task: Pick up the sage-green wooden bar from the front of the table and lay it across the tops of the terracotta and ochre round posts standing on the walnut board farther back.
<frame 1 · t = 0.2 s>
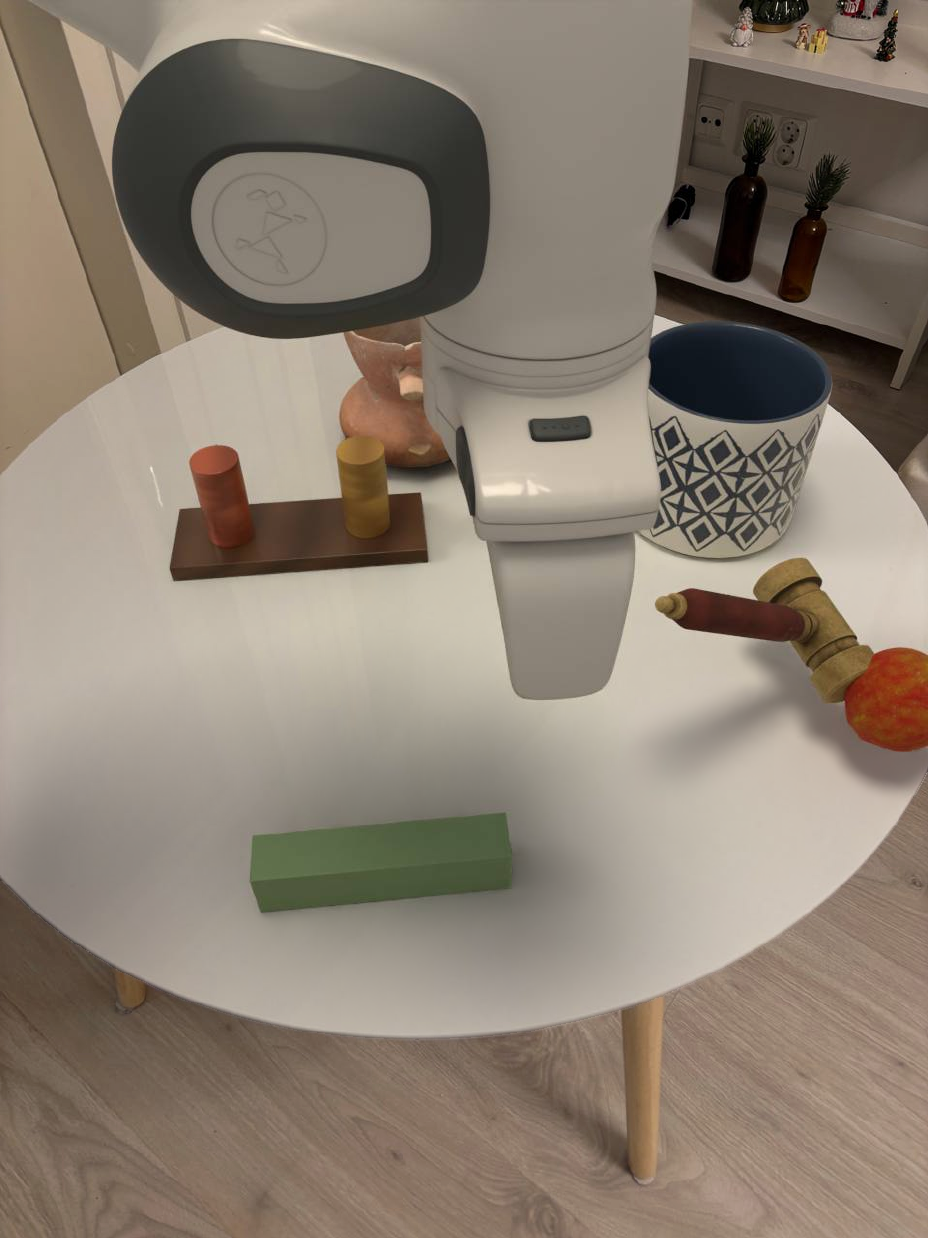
hand: (519, 612, 47), 22 cm above the table, tool pointing down, fingers open, 8 cm apart
rod stand: (302, 541, 84), on the table
gavel: (732, 636, 63), point 9 cm above the table, touching fruit
planter: (701, 506, 87), on the table
ceramic jug: (414, 437, 95), on the table
bar: (385, 877, 61), on the table
fruit: (854, 730, 66), point 3 cm above the table, touching gavel
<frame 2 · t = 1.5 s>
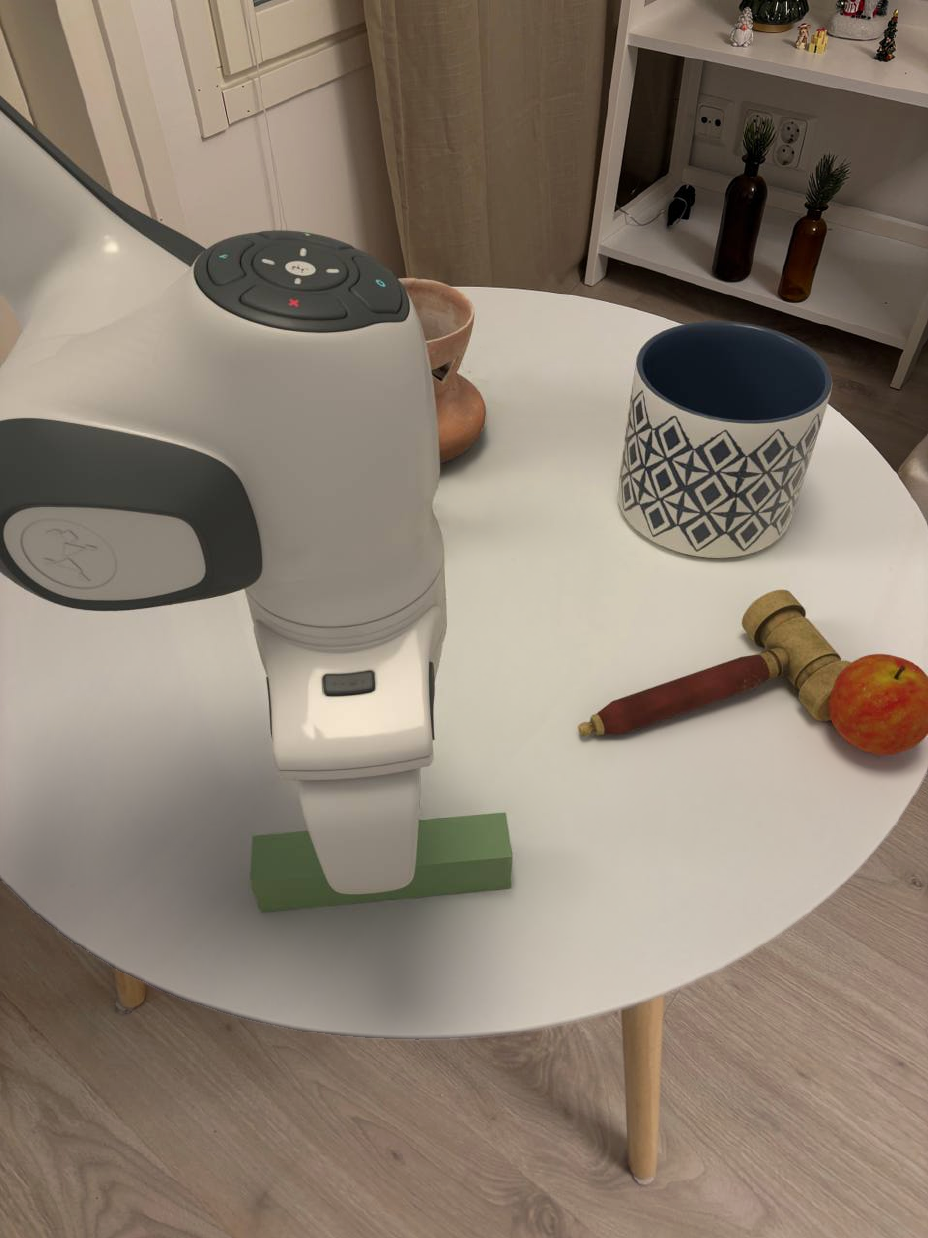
hand: (375, 776, 53), 11 cm above the table, tool pointing down, fingers open, 8 cm apart
gavel: (702, 703, 71), on the table, touching fruit
fruit: (865, 736, 69), on the table, touching gavel
everything else where it was.
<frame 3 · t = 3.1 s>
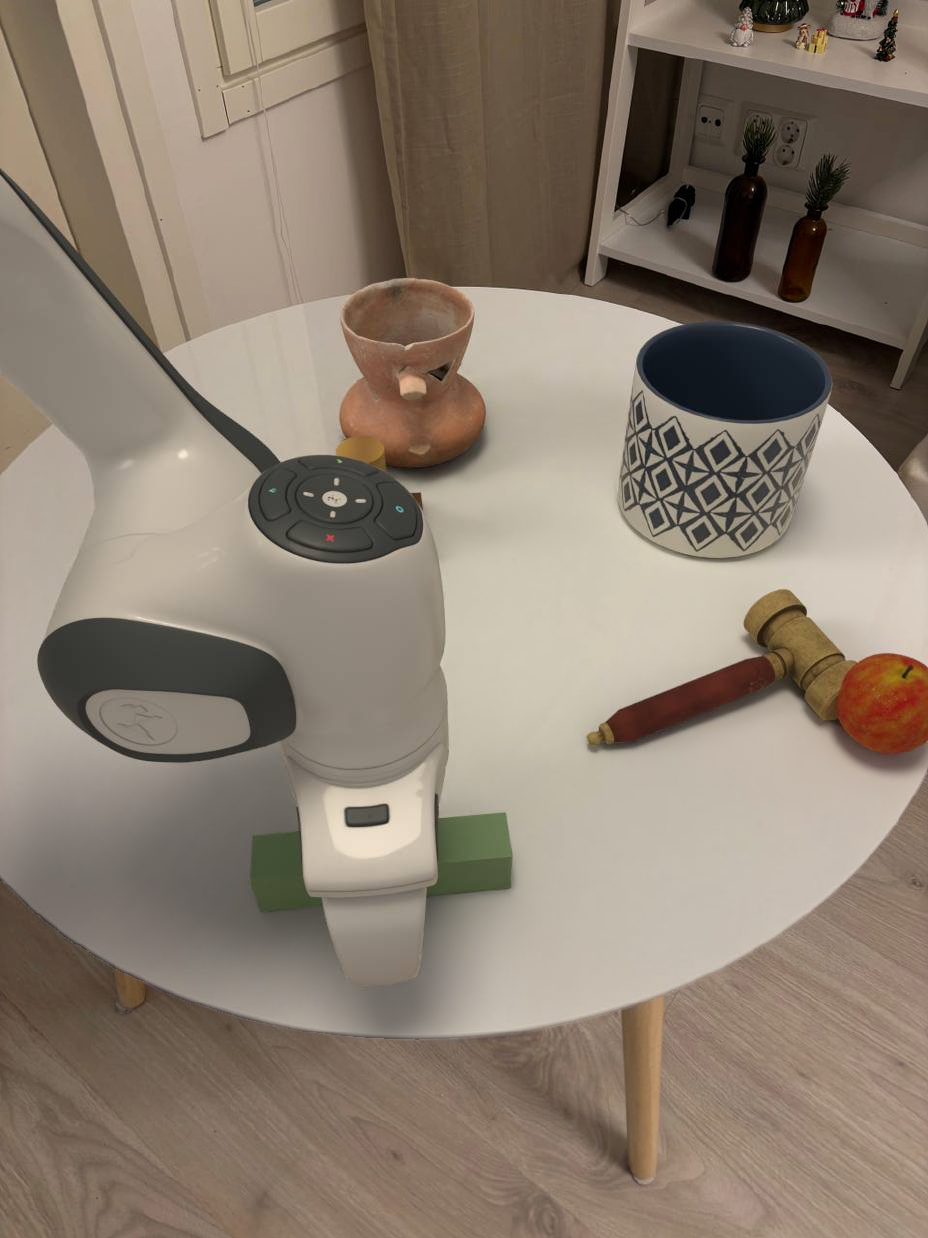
hand: (383, 865, 60), 2 cm above the table, tool pointing down, fingers closed on bar, 3 cm apart
bar: (385, 877, 61), on the table, touching gripper
fruit: (872, 735, 69), on the table, touching gavel
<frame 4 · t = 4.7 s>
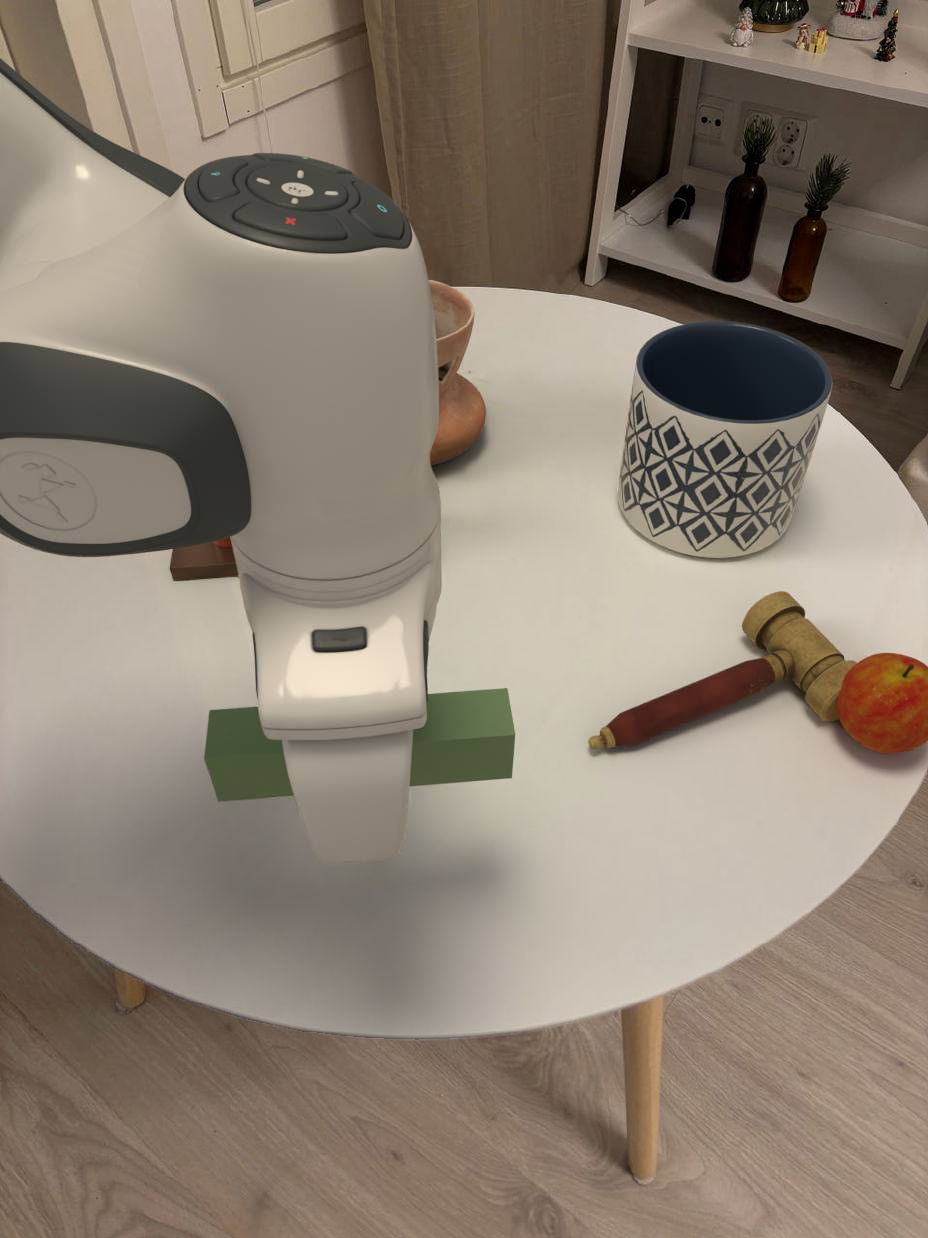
hand: (363, 748, 51), 14 cm above the table, tool pointing down, fingers closed on bar, 3 cm apart
bar: (366, 766, 52), point 12 cm above the table, touching gripper
fruit: (873, 735, 69), on the table, touching gavel
everything else where it was.
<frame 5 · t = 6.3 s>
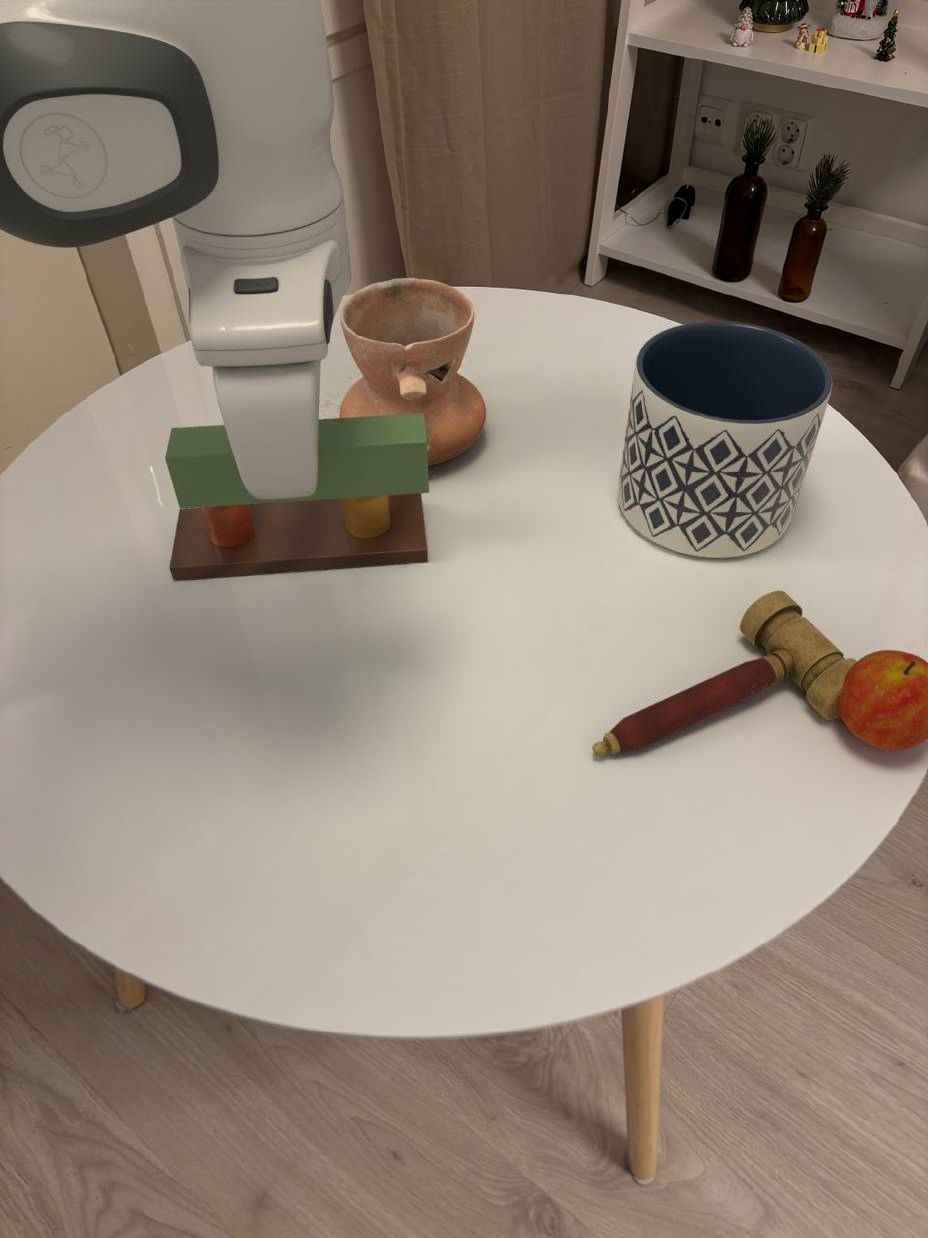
hand: (301, 464, 60), 19 cm above the table, tool pointing down, fingers closed on bar, 3 cm apart
bar: (306, 485, 61), point 17 cm above the table, touching gripper
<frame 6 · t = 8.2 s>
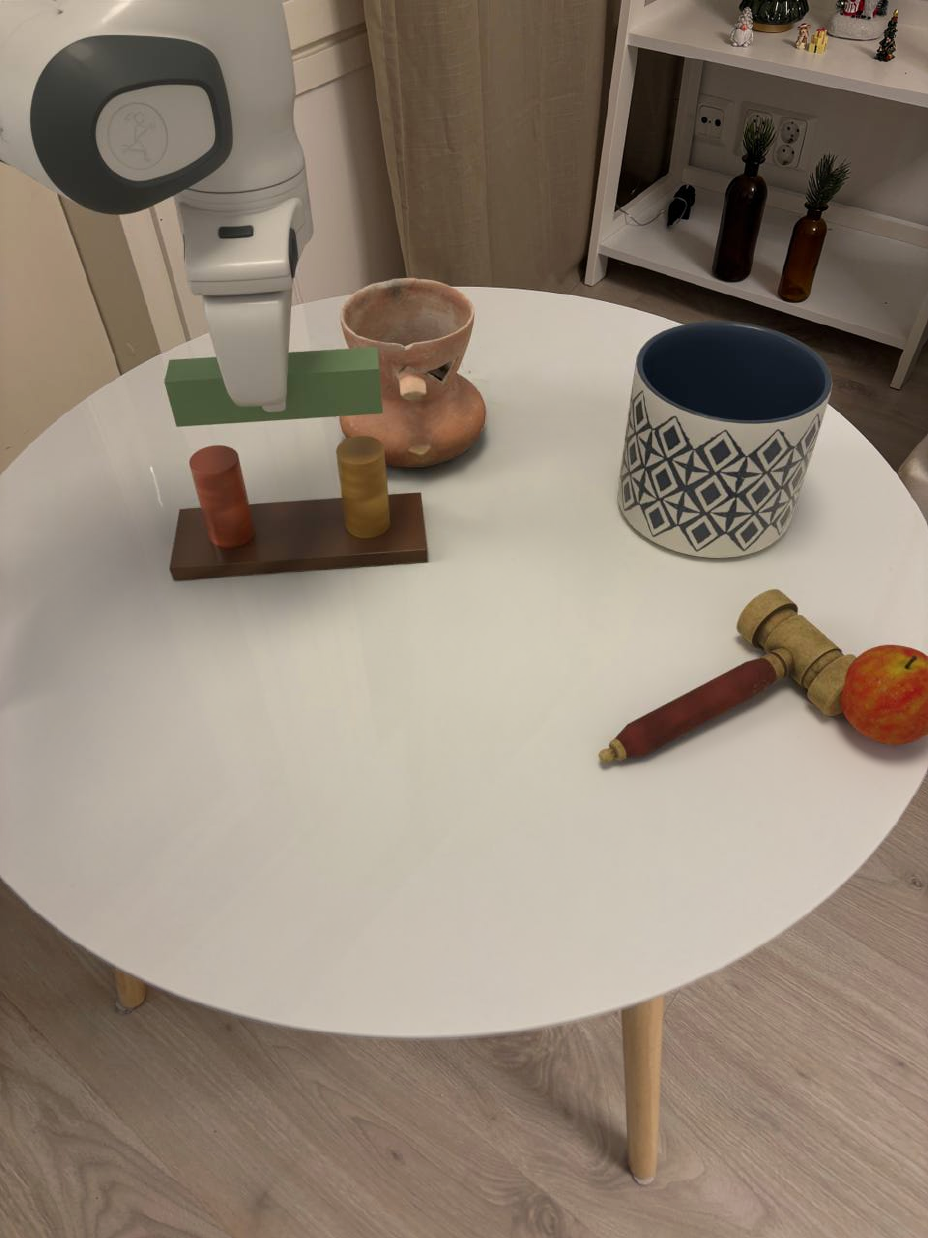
hand: (276, 390, 73), 16 cm above the table, tool pointing down, fingers closed on bar, 3 cm apart
bar: (281, 408, 74), point 14 cm above the table, touching gripper
when the fingers open (11 cm above the table, at t = 9.6 s): bar stays where it is, resting on rod stand.
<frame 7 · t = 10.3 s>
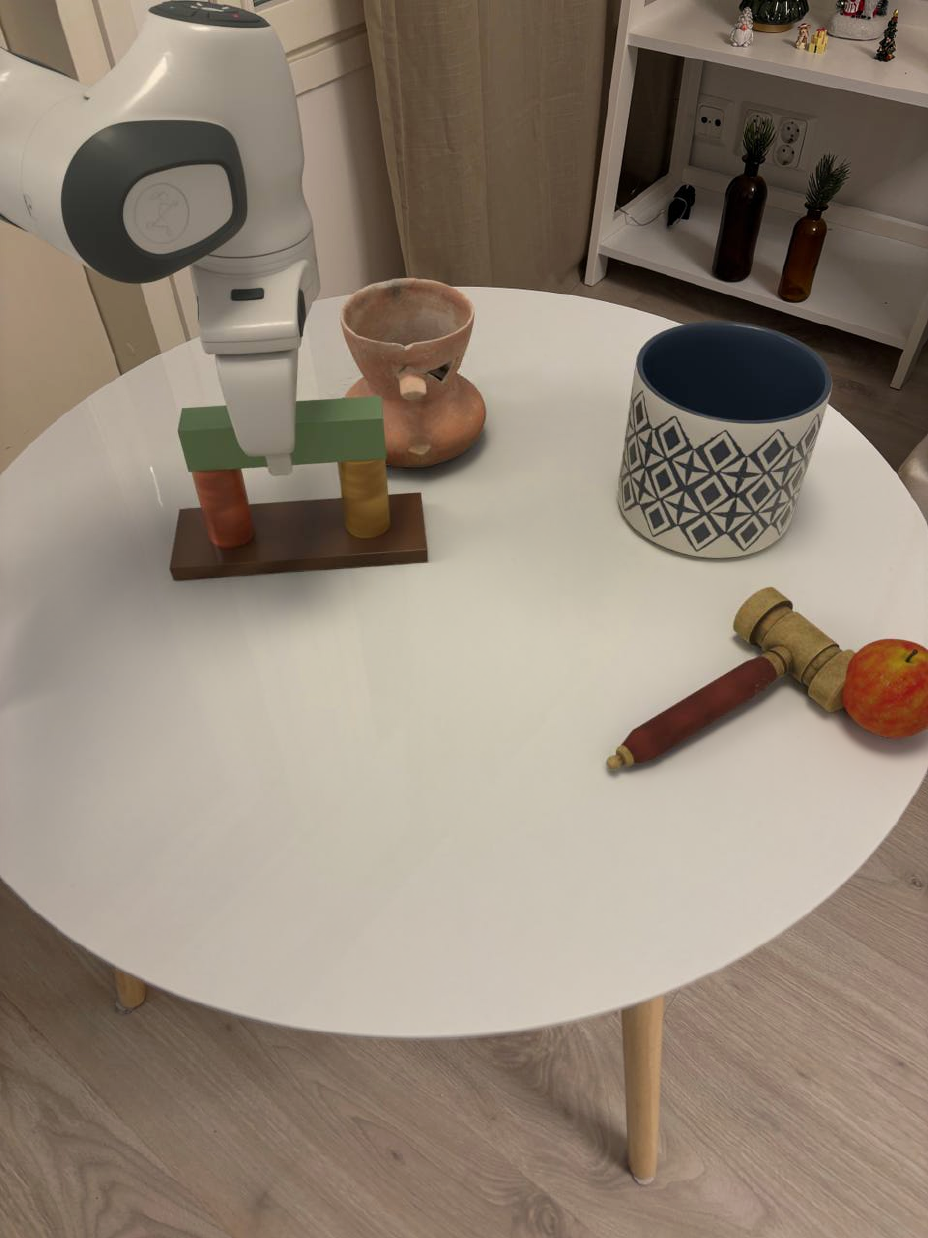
hand: (283, 434, 76), 11 cm above the table, tool pointing down, fingers open, 8 cm apart
bar: (288, 454, 77), point 9 cm above the table, touching rod stand
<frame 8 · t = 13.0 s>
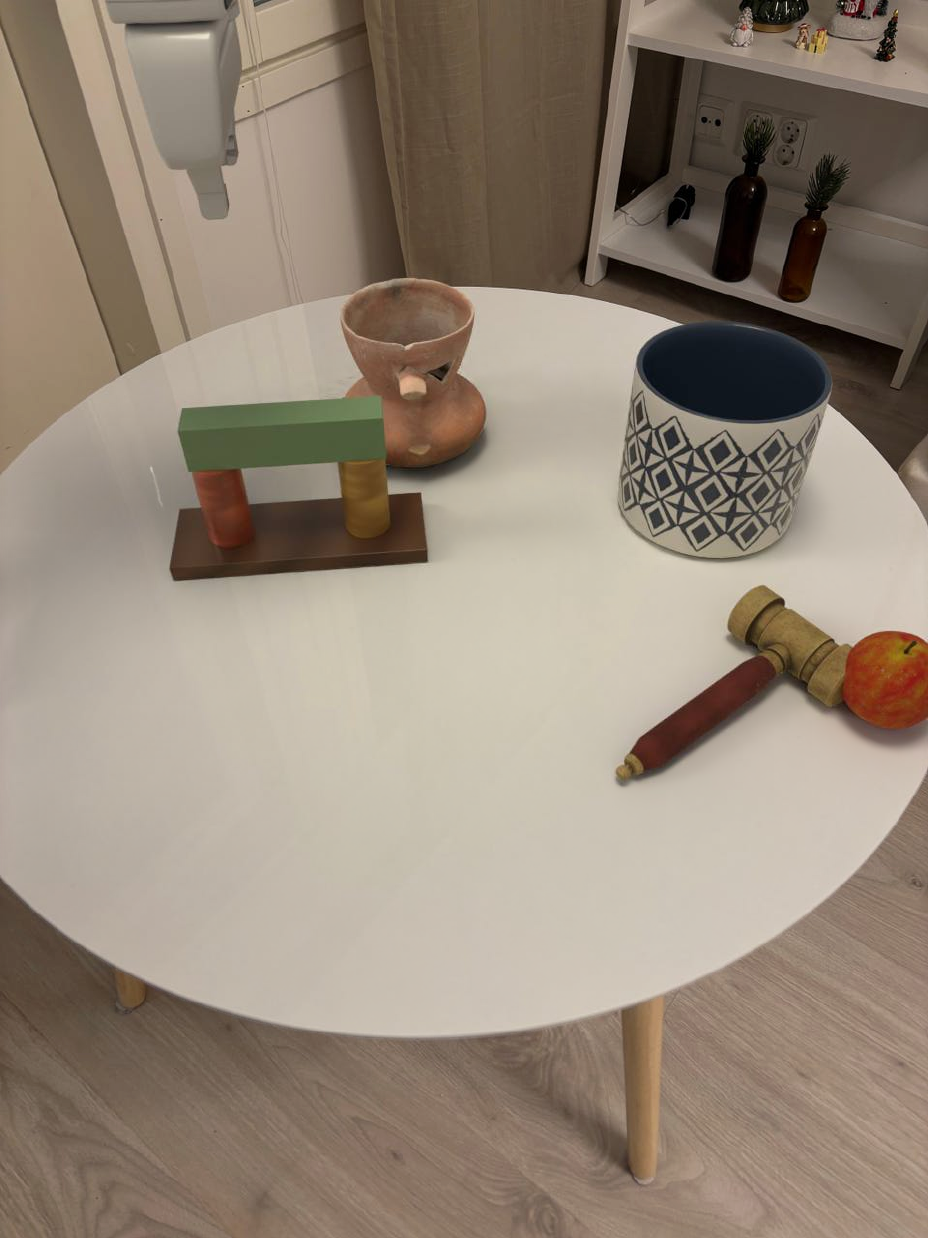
hand: (222, 187, 66), 29 cm above the table, tool pointing down, fingers open, 8 cm apart
at the end: bar 0.1 cm off-centre on the rod stand, point 9.5 cm above the rod stand's base; bar tilted 0°; the gripper is holding nothing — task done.
